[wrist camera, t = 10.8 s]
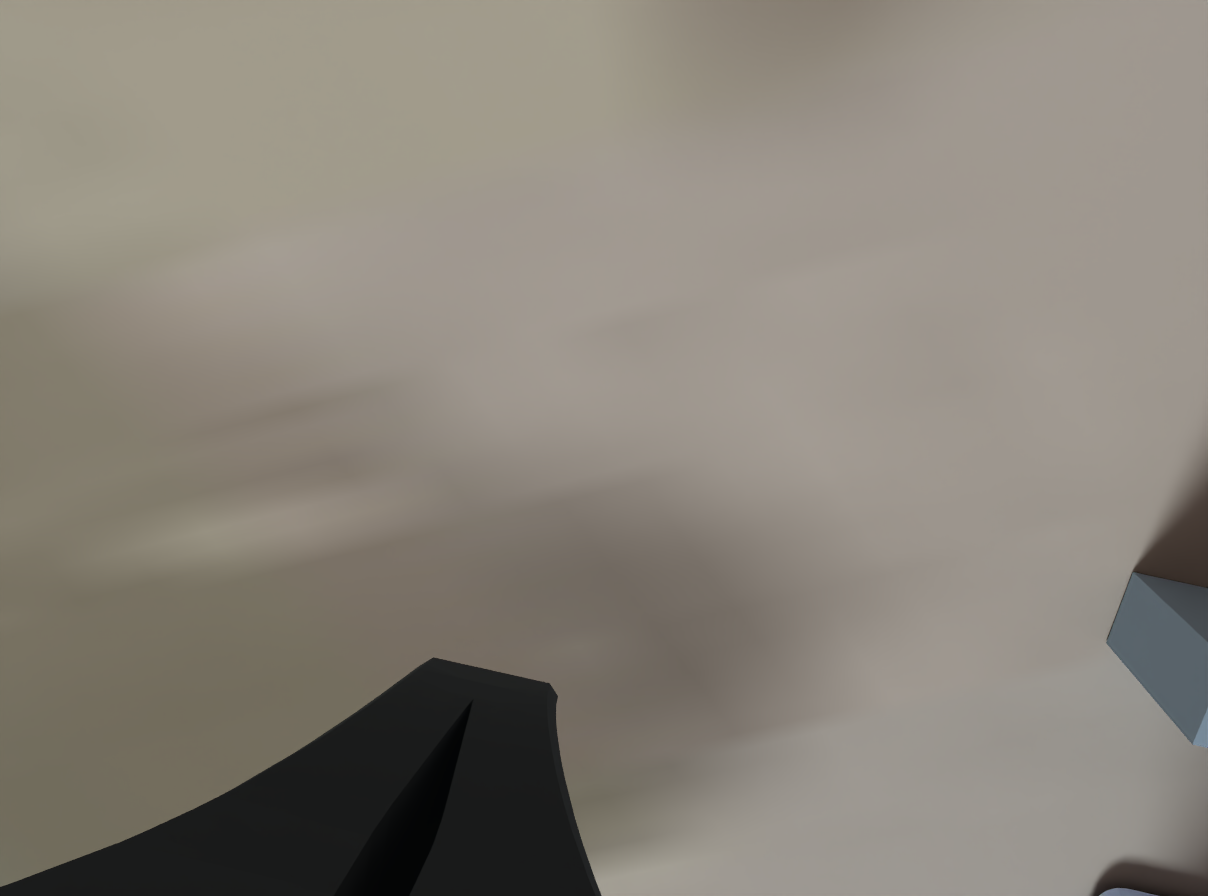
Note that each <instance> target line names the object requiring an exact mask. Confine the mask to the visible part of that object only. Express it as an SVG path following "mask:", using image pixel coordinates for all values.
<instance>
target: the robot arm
mask: <svg viewBox="0 0 1208 896" xmlns="http://www.w3.org/2000/svg"><path fill="white" fill-rule="evenodd" d="M557 698H558V696H557V694H556V693H555V691H554V689H553V688H552V686H551V685H550V683H545V682H541V681H536V680H532V679H528V678H523V677H519V676H514V675H510V674H505V673H501V672H496V671H492V670H487V669H483V668H478V667H474V666H469V665H465V664H460V663H456V662H451V661H447V660H442V659H438V658H432V659H430V660H429V661H427V662H425V663H424V664H422V665H420V666H419V667H418V668H416V669H415V670H413V671H412V672H411V673H409V674H408V675H407V676H405V677H404V678H403V679H401V680H400V681H399V682H397V683H396V684H394V685H393V686H392V687H390V688H389V689H388V690H386V691H385V692H384V693H382V694H381V695H379V696H378V697H377V698H375V699H374V700H372V701H371V702H370V703H368V704H367V705H365V706H364V707H363V708H361V709H360V710H358V711H357V712H356V713H354V714H353V715H351V716H350V717H348V718H347V719H345V720H344V721H342V722H341V723H339V724H338V725H336V726H335V727H333V728H332V729H330V730H329V731H327V732H326V733H324V734H323V735H321V736H320V737H318V738H317V739H315V740H314V741H312V742H311V743H309V744H308V745H306V746H305V747H303V748H301V749H300V750H298V751H297V752H295V753H293V754H292V755H290V756H288V757H287V758H285V759H283V760H282V761H280V762H278V763H276V764H275V765H273V766H271V767H270V768H268V769H266V770H265V771H263V772H261V773H259V774H258V775H256V776H254V777H253V778H251V779H249V780H247V781H246V782H244V783H242V784H241V785H239V786H237V787H236V788H234V789H232V790H230V791H228V792H226V793H225V794H223V795H221V796H219V797H217V798H215V799H213V800H211V801H209V802H207V803H205V804H203V805H201V806H199V807H197V808H195V809H193V810H191V811H189V812H186V813H184V814H182V815H180V816H178V817H176V818H173V819H171V820H169V821H167V822H165V823H163V824H160V825H158V826H156V827H154V828H152V829H150V830H147V831H145V832H143V833H141V834H138V835H136V836H134V837H131V838H129V839H127V840H124V841H122V842H120V843H117V844H114V845H112V846H109V847H106V848H104V849H101V850H98V851H96V852H93V853H90V854H88V855H85V856H82V857H80V858H77V859H75V860H72V861H69V862H67V863H64V864H61V865H59V866H56V867H53V868H51V869H48V870H45V871H43V872H40V873H37V874H35V875H32V876H30V877H27V878H24V879H22V880H19V881H16V882H14V883H11V884H8V885H5V886H2V887H0V896H601V893H600V891H599V888H598V886H597V883H596V881H595V878H594V875H593V872H592V869H591V866H590V863H589V861H588V858H587V855H586V852H585V849H584V846H583V843H582V840H581V837H580V833H579V830H578V827H577V824H576V820H575V817H574V813H573V809H572V805H571V801H570V797H569V793H568V789H567V785H566V781H565V777H564V772H563V767H562V762H561V757H560V750H559V744H558V737H557V727H556V703H557ZM1099 896H1158V895H1153V894H1149V893H1145V892H1140V891H1136V890H1131V889H1127V888H1114V889H1110V890H1107V891H1105V892H1104V893H1102V894H1101V895H1099Z"/></svg>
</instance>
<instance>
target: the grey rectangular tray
mask: <svg viewBox="0 0 1208 896" xmlns="http://www.w3.org/2000/svg"><path fill="white" fill-rule="evenodd" d="M1106 643H1107V644H1108V646H1109V647H1110V648H1111V649H1112V650H1113V652H1114V653H1115V654H1116V655H1117V656H1118V657H1119V659H1120V660H1121V661H1122V662H1123V663H1124V664H1125V666H1126V667H1127V668H1128V669H1129V670H1130V672H1131V673H1132V674H1133V675H1134V676H1135V677H1136V679H1137V680H1138V681H1139V682H1140V683H1141V684H1142V686H1143V687H1144V688H1145V689H1146V690H1147V692H1148V693H1149V694H1150V695H1151V696H1152V697H1153V699H1154V700H1155V701H1156V702H1157V703H1158V704H1159V706H1160V707H1161V708H1162V709H1163V710H1164V712H1165V713H1166V714H1167V715H1168V716H1169V717H1170V719H1171V720H1172V721H1173V722H1174V723H1175V724H1176V726H1177V727H1178V728H1179V729H1180V730H1181V732H1182V733H1183V734H1184V735H1185V736H1186V737H1187V739H1188V740H1189V741H1190V742H1191V743H1192V744H1193V745H1197V746H1202V747H1207V748H1208V588H1205V587H1200V586H1196V585H1191V584H1186V583H1182V582H1177V581H1172V580H1168V579H1163V578H1159V577H1154V576H1149V575H1145V574H1140V573H1135V572H1133V574H1132V576H1131V579H1130V581H1129V584H1128V587H1127V589H1126V592H1125V595H1124V597H1123V600H1122V603H1121V605H1120V608H1119V611H1118V613H1117V616H1116V618H1115V621H1114V624H1113V626H1112V629H1111V632H1110V634H1109V637H1108V640H1107V642H1106Z"/></svg>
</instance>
